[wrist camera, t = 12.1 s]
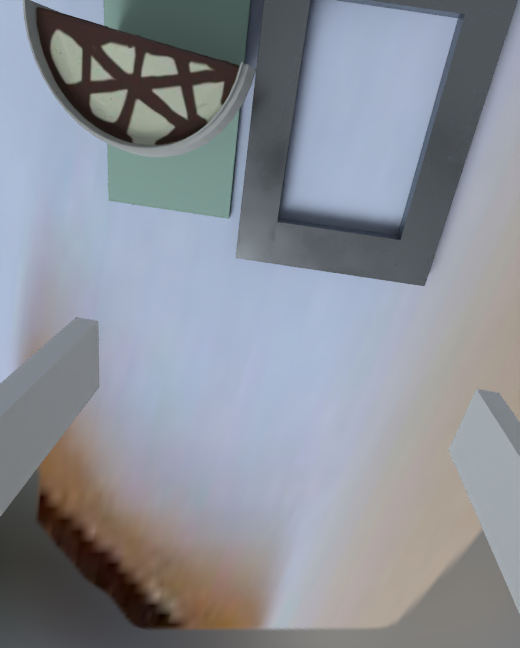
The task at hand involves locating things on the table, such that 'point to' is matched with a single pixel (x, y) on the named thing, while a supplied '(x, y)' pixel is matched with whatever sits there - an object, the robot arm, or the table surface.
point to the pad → (211, 158)
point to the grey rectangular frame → (432, 169)
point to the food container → (134, 84)
